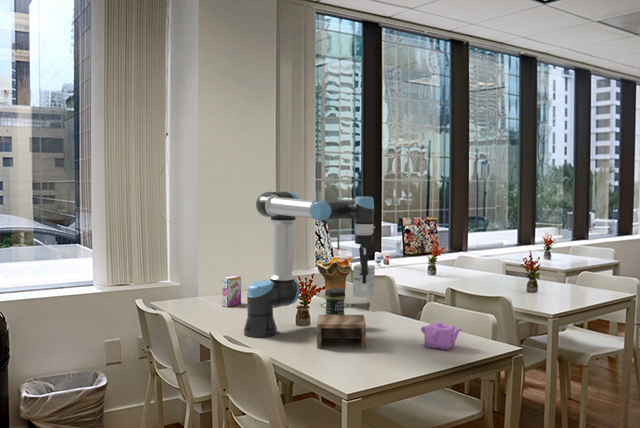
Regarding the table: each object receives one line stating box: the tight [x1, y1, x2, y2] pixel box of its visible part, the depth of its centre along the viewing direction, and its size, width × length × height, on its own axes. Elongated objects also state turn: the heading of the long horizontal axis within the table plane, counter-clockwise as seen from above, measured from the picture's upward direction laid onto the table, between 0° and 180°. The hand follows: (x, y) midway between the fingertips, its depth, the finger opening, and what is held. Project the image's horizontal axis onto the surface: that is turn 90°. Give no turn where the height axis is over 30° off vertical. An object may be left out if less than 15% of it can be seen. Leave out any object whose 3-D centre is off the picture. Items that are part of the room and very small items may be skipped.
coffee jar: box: [324, 288, 346, 315], centre depth 261 cm, size 10×8×19 cm
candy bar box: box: [221, 275, 242, 307], centre depth 313 cm, size 11×5×16 cm, turn 144°
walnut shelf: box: [316, 314, 367, 350], centre depth 233 cm, size 20×18×10 cm
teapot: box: [420, 322, 463, 351], centre depth 224 cm, size 18×14×10 cm
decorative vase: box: [316, 256, 353, 309], centre depth 310 cm, size 21×23×28 cm
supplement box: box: [352, 263, 376, 299], centre depth 224 cm, size 7×7×13 cm
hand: (363, 289), depth 224 cm, fingers closed on supplement box, 9 cm apart
